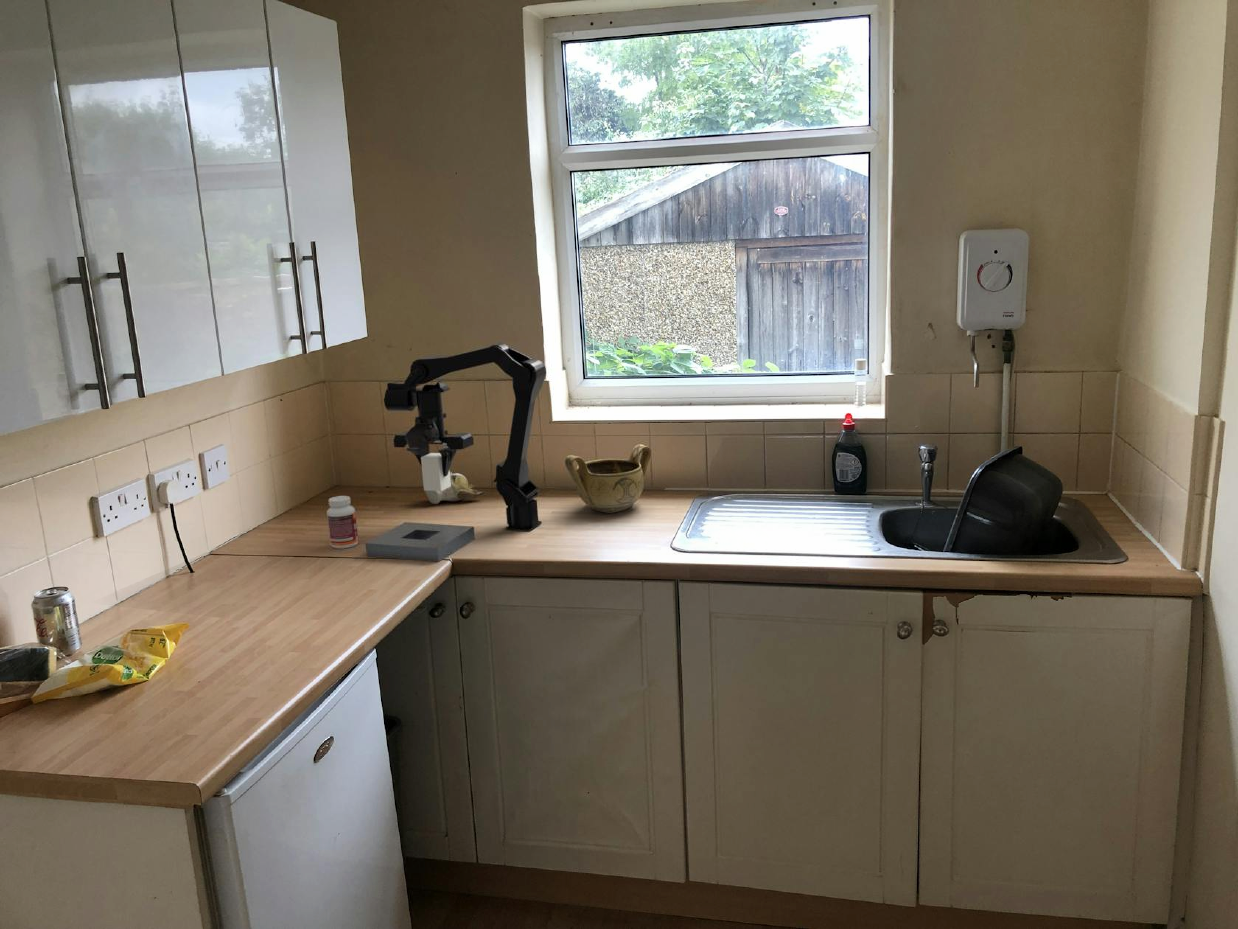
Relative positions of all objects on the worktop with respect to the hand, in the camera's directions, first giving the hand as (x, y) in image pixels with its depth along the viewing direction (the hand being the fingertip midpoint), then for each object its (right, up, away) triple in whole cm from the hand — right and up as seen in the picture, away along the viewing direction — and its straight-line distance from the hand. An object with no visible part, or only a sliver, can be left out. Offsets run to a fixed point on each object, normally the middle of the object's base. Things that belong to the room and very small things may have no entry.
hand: (436, 475), depth 236 cm
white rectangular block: (0, -3, +1) cm, 3 cm away
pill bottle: (-19, -16, -10) cm, 27 cm away
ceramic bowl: (+41, -8, +8) cm, 43 cm away
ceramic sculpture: (0, -7, +24) cm, 25 cm away
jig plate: (-1, -16, -14) cm, 21 cm away
